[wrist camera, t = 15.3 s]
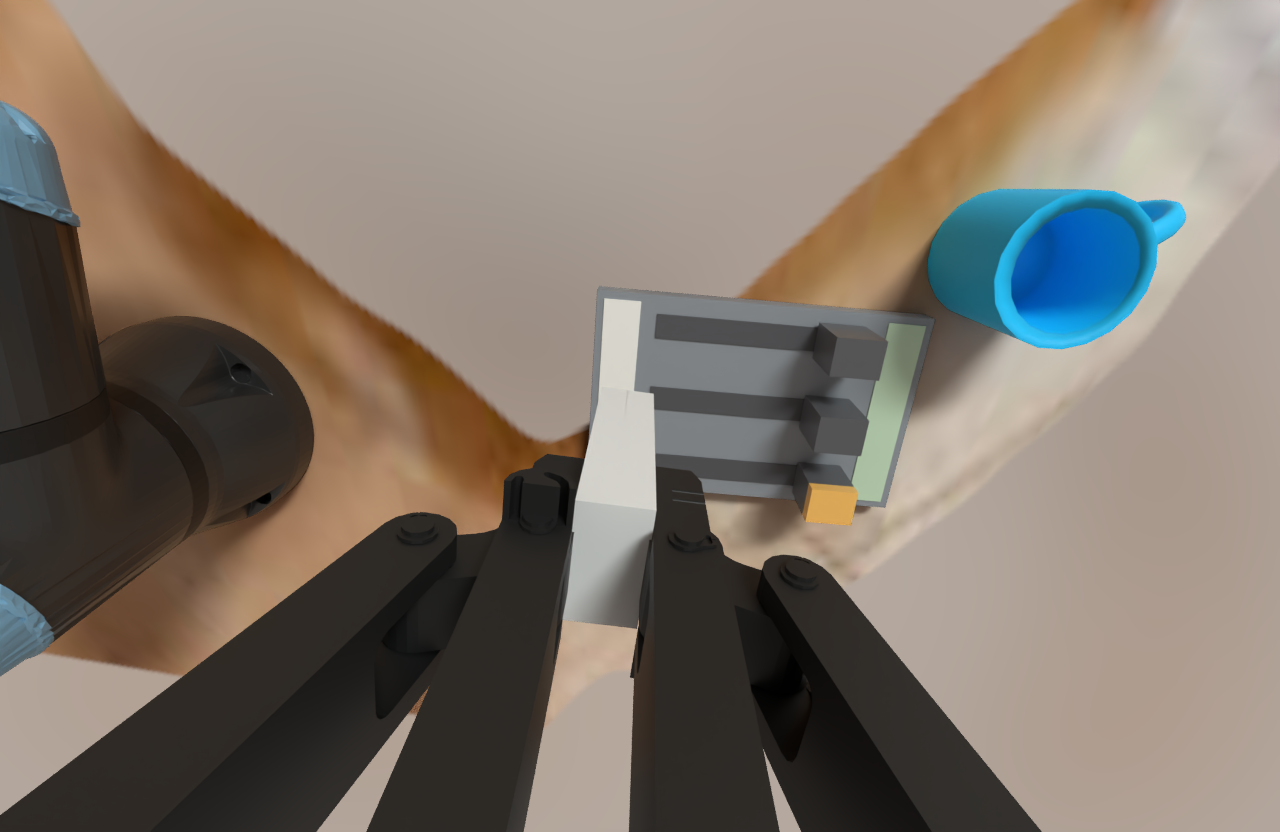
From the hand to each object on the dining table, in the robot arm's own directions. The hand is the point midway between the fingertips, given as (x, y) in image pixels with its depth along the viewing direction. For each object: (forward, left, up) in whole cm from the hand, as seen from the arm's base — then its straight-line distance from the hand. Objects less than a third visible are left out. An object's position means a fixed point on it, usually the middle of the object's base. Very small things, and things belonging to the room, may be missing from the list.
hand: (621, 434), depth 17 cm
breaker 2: (+13, -7, -23) cm, 27 cm away
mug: (+24, +5, -24) cm, 35 cm away
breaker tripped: (+14, -12, -23) cm, 29 cm away
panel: (+8, -7, -24) cm, 26 cm away
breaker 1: (+13, -2, -23) cm, 26 cm away
